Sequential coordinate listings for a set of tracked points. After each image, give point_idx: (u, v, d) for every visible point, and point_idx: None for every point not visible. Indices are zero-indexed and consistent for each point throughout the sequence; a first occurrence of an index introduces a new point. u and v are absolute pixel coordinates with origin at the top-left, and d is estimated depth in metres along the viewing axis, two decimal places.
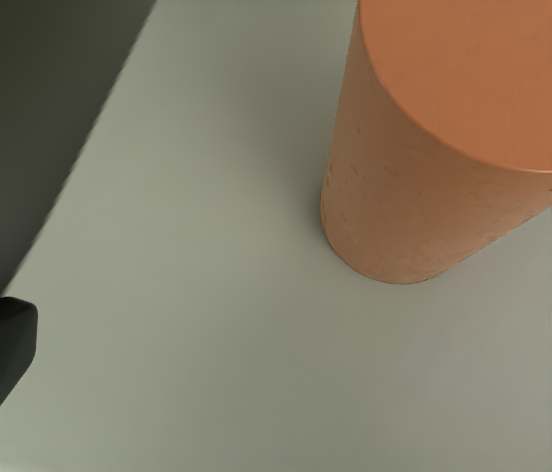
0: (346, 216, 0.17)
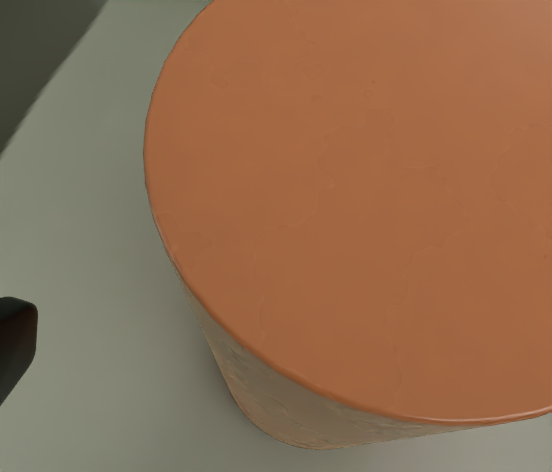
0: (229, 384, 0.13)
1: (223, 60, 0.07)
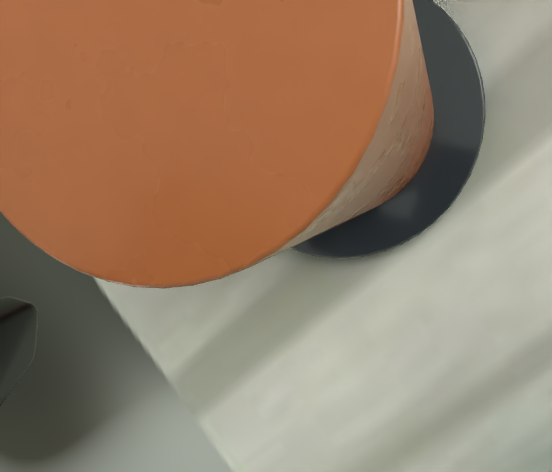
0: None
1: (9, 158, 0.07)
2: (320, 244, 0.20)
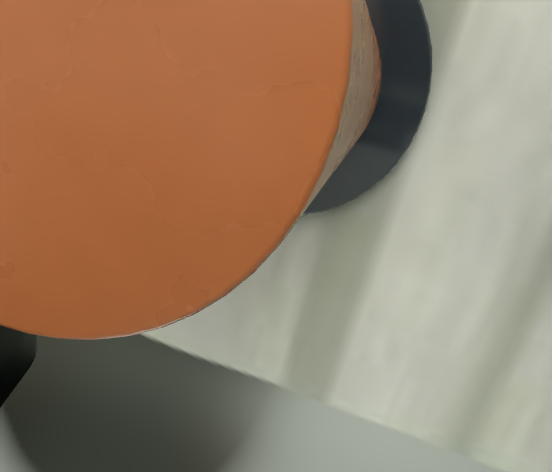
0: None
1: None
2: (336, 193, 0.19)
